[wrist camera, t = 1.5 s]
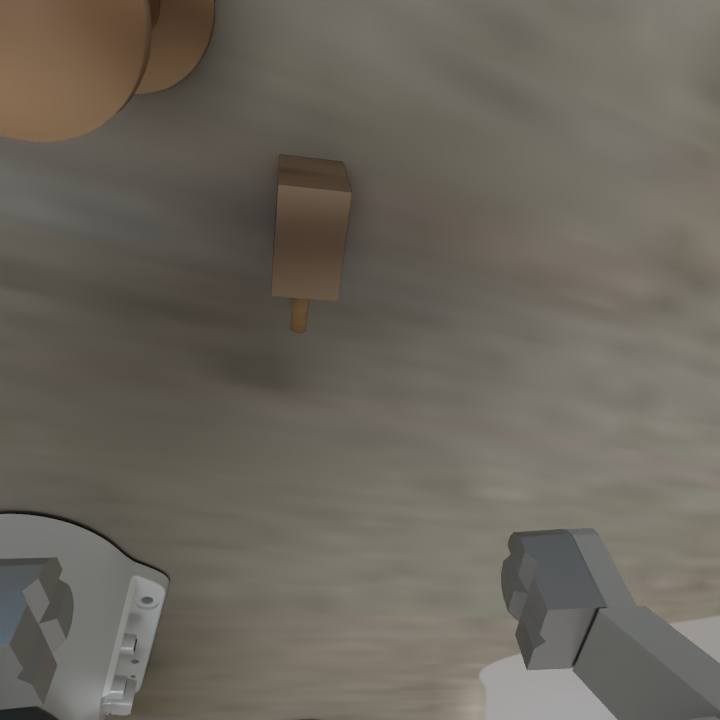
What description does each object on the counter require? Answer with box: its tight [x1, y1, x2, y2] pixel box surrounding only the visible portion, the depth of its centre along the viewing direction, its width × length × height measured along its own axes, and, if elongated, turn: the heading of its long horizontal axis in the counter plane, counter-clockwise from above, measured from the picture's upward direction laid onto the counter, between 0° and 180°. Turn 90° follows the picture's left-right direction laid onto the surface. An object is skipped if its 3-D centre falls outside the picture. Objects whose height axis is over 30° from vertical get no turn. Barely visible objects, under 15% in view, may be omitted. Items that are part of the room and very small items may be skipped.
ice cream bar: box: [271, 154, 352, 333], centre depth 28 cm, size 8×3×5 cm, turn 172°
